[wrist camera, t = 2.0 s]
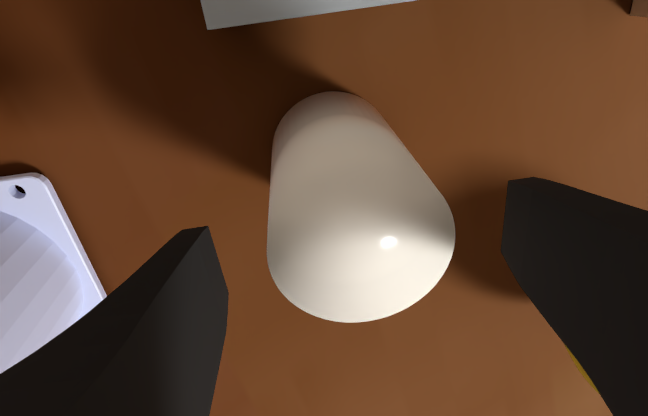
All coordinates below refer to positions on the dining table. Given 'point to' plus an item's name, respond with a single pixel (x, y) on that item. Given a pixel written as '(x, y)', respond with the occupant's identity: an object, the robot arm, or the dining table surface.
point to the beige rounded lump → (352, 213)
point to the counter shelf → (639, 8)
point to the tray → (275, 10)
